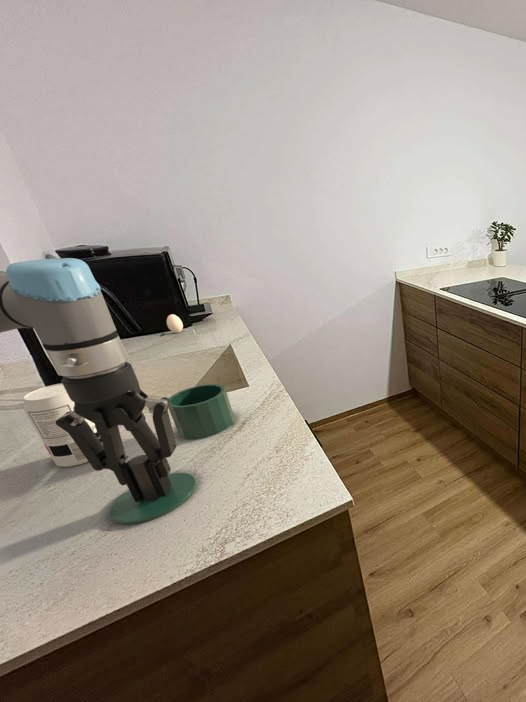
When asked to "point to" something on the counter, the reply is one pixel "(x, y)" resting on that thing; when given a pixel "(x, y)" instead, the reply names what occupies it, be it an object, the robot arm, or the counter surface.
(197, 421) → the pot
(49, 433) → the supplement can
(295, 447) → the counter surface
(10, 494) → the counter surface
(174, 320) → the egg
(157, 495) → the lid
